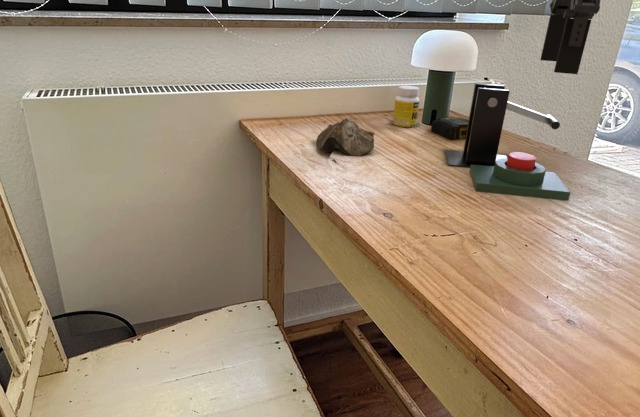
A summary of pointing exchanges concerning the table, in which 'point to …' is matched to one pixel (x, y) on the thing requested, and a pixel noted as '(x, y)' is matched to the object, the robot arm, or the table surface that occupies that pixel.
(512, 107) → the switch lever
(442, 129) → the tape measure
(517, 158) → the red button
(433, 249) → the table surface
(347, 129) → the fossilized seashell
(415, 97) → the supplement bottle
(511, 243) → the table surface
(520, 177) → the button box
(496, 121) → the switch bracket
